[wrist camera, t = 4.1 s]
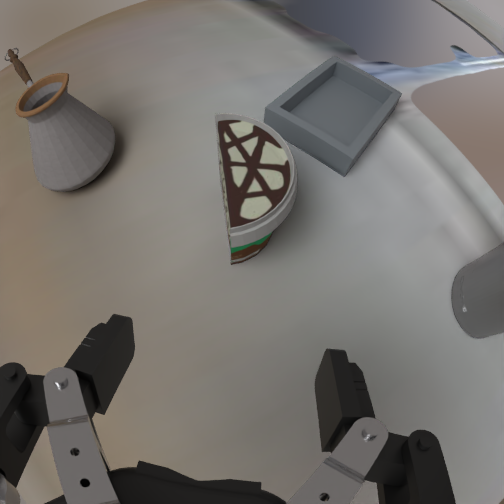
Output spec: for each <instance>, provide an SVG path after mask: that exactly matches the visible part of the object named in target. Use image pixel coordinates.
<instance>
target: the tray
mask: <svg viewBox="0 0 504 504" xmlns="http://www.w3.org/2000/svg"><path fill="white" fill-rule="evenodd" d="M401 95H402V93H400V92H399V91H397V90H396V89H394V88H392V87H391V86H389V85H387V84H386V83H384V82H382V81H381V80H379V79H377V78H375V77H374V76H372V75H370V74H368V73H366V72H365V71H363V70H361V69H359V68H357V67H355V66H353V65H352V64H350V63H348V62H346V61H344V60H342V59H340V58H338V57H336V56H332V57H331V58H330V59H328V60H327V61H325V62H324V63H323V64H321V65H320V66H318V67H317V68H316V69H314V70H313V71H312V72H310V73H309V74H308V75H306V76H305V77H304V78H302V79H301V80H300V81H298V82H297V83H296V84H294V85H293V86H292V87H291V88H289V89H288V90H287V91H285V92H284V93H283V94H282V95H280V96H279V97H278V98H277V99H275V100H274V101H273V102H272V103H270V104H269V105H268V106H267V107H265V116H264V123H265V124H266V125H268V126H270V127H271V128H272V129H274V130H275V131H276V132H277V133H278V134H279V135H280V136H281V137H282V138H283V139H285V140H286V141H288V142H290V143H291V144H293V145H295V146H296V147H298V148H300V149H301V150H303V151H305V152H306V153H308V154H309V155H311V156H313V157H314V158H316V159H317V160H319V161H320V162H322V163H324V164H325V165H327V166H328V167H330V168H331V169H333V170H334V171H336V172H337V173H339V174H340V175H342V176H343V177H345V175H346V174H347V173H348V171H349V170H350V169H351V167H352V166H353V165H354V163H355V162H356V161H357V159H358V158H359V157H360V155H361V154H362V153H363V151H364V150H365V149H366V147H367V146H368V144H369V143H370V142H371V140H372V139H373V138H374V136H375V135H376V134H377V132H378V131H379V129H380V128H381V127H382V125H383V124H384V123H385V121H386V120H387V118H388V117H389V116H390V114H391V113H392V112H393V110H394V109H395V107H396V105H397V103H398V101H399V99H400V97H401Z"/></svg>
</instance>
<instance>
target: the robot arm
mask: <svg viewBox="0 0 504 504" xmlns="http://www.w3.org/2000/svg"><path fill="white" fill-rule="evenodd" d="M452 304H453V309H454V313H455V316H456V318H457V321H458V323H459V324H460V326H461V327H462V329H463V330H464V331H465V332H466V333H467V334H469V335H470V336H472V337H475V338H485V337H489V336H493V335H496V334H500V333H504V243H502V244H501V245H499V246H498V247H496V248H495V249H493V250H492V251H490V252H488V253H487V254H485V255H483V256H482V257H480V258H479V259H477V260H475V261H474V262H472V263H470V264H469V265H467V266H465V267H464V268H462V269H461V270H460V271H459V272H458V274H457V275H456V277H455V280H454V283H453V288H452ZM134 351H135V343H134V333H133V323H132V319H131V318H130V317H126V316H122V315H117V314H113V315H112V316H111V318H110V319H109V321H108V322H107V323H106V324H104V323H100V324H98V325H97V326H95V327H94V328H92V329H91V330H90V332H89V333H88V334H87V336H86V338H84V340H83V341H82V342H81V345H79V347H78V348H77V349H76V351H75V352H74V353H73V355H72V356H71V358H70V359H69V360H68V362H67V363H66V365H65V366H64V367H59V368H55V369H52V370H50V371H49V372H48V373H47V374H46V375H45V376H42V375H31V374H27V372H26V370H25V368H24V367H23V366H22V365H21V364H19V363H7V364H5V365H3V366H2V367H0V504H20V495H19V493H18V491H17V489H16V487H17V485H18V482H19V480H20V478H21V475H22V473H23V471H24V468H25V466H26V464H27V462H28V460H29V457H30V455H31V453H32V451H33V449H34V447H35V445H36V443H37V440H38V438H39V436H40V434H41V432H42V430H43V428H44V426H47V430H48V435H49V440H50V444H51V449H52V453H53V457H54V461H55V465H56V469H57V472H58V476H59V479H60V483H61V486H62V489H63V492H64V495H62V496H60V497H58V498H56V499H53V500H51V501H49V502H47V503H45V504H349V503H350V502H351V500H352V499H353V497H354V496H355V495H356V493H357V492H358V490H359V489H360V487H361V486H362V484H363V482H364V480H367V481H371V482H376V483H377V489H378V497H379V504H456V503H455V498H454V494H453V490H452V486H451V482H450V478H449V475H448V471H447V467H446V464H445V460H444V457H443V453H442V450H441V447H440V444H439V441H438V439H437V437H436V436H435V435H434V434H432V433H431V432H429V431H426V430H417V431H414V432H413V433H411V435H410V436H409V437H406V436H402V435H397V434H393V433H390V432H388V430H387V428H386V427H385V425H384V424H383V423H382V422H381V421H379V420H377V419H376V418H375V414H374V411H373V407H372V403H371V400H370V396H369V393H368V391H367V386H366V383H365V379H364V376H363V372H362V371H361V369H360V368H359V367H358V366H357V365H356V363H349V362H348V358H347V354H346V351H345V350H337V349H326V351H325V353H324V356H323V359H322V361H321V364H320V367H319V370H318V372H317V375H316V379H315V394H316V402H317V411H318V419H319V429H320V438H321V448H322V452H331V455H330V456H329V457H328V458H326V459H325V461H324V462H323V463H322V464H321V465H320V467H319V468H318V469H317V470H316V471H315V472H314V474H313V475H312V476H311V477H310V478H309V479H308V480H307V482H306V483H305V484H304V485H303V486H302V487H301V488H300V489H299V490H298V492H297V493H296V494H295V495H294V496H293V497H292V498H291V499H290V500H289V501H288V502H287V503H286V502H285V501H284V500H282V499H281V498H279V497H278V496H276V495H274V494H272V493H269V492H267V491H264V490H261V482H251V481H242V480H233V479H226V480H210V481H197V480H194V479H192V478H189V477H187V476H185V475H182V474H180V473H178V472H176V471H173V470H171V469H169V468H166V467H162V466H158V465H154V464H150V463H146V462H143V461H139V462H138V465H137V467H127V468H119V469H116V470H112V471H111V468H110V466H109V464H108V461H107V459H106V457H105V454H104V451H103V449H102V446H101V443H100V440H99V438H98V435H97V432H96V429H95V426H94V423H93V420H92V418H93V416H94V414H95V412H97V413H100V414H103V415H105V413H106V410H107V408H108V406H109V404H110V402H111V400H112V398H113V396H114V394H115V392H116V390H117V388H118V386H119V384H120V382H121V380H122V378H123V376H124V374H125V373H126V371H127V369H128V367H129V365H130V363H131V361H132V359H133V356H134Z"/></svg>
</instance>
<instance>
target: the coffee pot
mask: <svg viewBox="0 0 504 504" xmlns="http://www.w3.org/2000/svg"><path fill="white" fill-rule="evenodd" d="M14 49H17V48H14ZM14 49H12V50H14ZM12 50H11V49H9V50H8V53H7V54H8V56H9V57H10V59H9V60H10V62H12V63H13V64H14V67H15V70H16V72H17V73H18V74H19V76H20V77H21V78H22V80H23V81H24V82H25V84H26V85H27V86H28V87H29V88H28V89H27V90H26V91H25V92H24V93H23V94H22V96H21V97H20V98H19V100H18V102H17V104H16V114H17V115H18V116H19V117H23V118H26V119H27V120H28V123H29V133H30V142H31V150H32V157H33V164H34V170H35V174H36V177H37V180H38V181H39V182H40V183H41V185H42V186H43V187H45V188H48V189H50V190H53V191H59V192H66V191H71V190H75V189H77V188H80V187H82V186H84V185H86V184H88V183H90V182H91V181H92V180H94V179H95V178H96V177H97V176H98V175H99V174H100V173H101V172H102V171H103V169H104V168H105V166H106V165H107V164H108V162H109V161H110V159H111V156H112V154H113V151H114V145H115V132H114V128H113V127H112V125H111V124H110V122H109V121H107V120H106V119H105V118H103V117H102V116H100V115H99V114H97V113H96V112H94V111H93V110H92V109H90V108H89V107H87V106H86V105H84V104H83V103H81V102H80V101H79V100H77V99H76V98H74V97H73V96H71V95H70V94H68V93H67V85H68V81H69V74H67V73H57V74H52V75H49V76H46V77H44V78H42V79H40V80H39V81H37V82H36V83H33V82H32V79H31V77H30V76H29V74H28V72H27V70H26V68H25V66H24V64H23V63H22V62H21V61H20V60H19V59H18V55H17V54H18V52H17V54H14V52H13V51H12ZM17 50H18V49H17ZM7 54H6V56H7ZM6 56H5V60H6ZM9 60H6V61H9Z"/></svg>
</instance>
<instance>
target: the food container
mask: <svg viewBox="0 0 504 504" xmlns="http://www.w3.org/2000/svg"><path fill="white" fill-rule="evenodd" d="M215 116H216V117H215V118H216V130H217V144H218V157H219V170H220V182H221V191H222V199H223V207H224V215H225V223H226V231H227V238H228V246H229V253H230V261H231V265H232V264H237V263H241V262H244V261H246V260H248V259H250V258H252V257H254V256H256V255H257V254H258V253H259V252H260V251H261V250H262V249H263V248H264V247H265V246H266V245H267V243H268V241H269V239H270V237H271V234H272V232H273V230H275V229H276V228H277V227H278V226H279V225H280V224H281V223H282V222H283V221H284V220H285V219H286V217H287V216H288V214H289V212H290V211H291V209H292V207H293V205H294V202H295V199H296V195H297V185H298V180H297V170H296V164H295V160H294V158H293V155H292V153H291V151H290V148H289V147H288V145H287V144H286V142H285V140H284V139H283V138H282V137H281V136H280V135H279V134H278V133H277V132H276V131H275V130H274V129H272V128H271V127H270V126H268V125H266V124H265V123H263V122H261V121H259V120H256V119H254V118H251V117H248V116H244V115H239V114H229V113H219V114H215Z"/></svg>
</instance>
